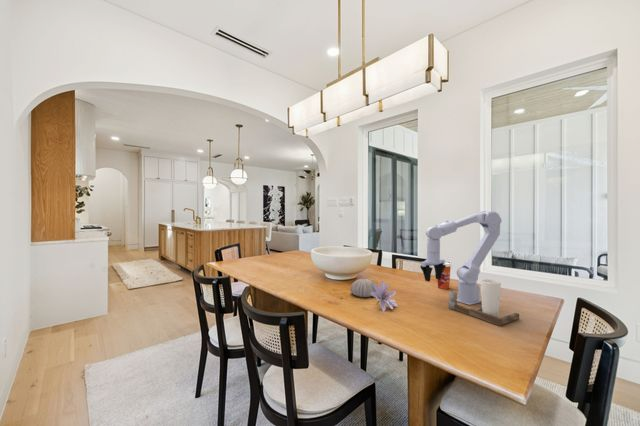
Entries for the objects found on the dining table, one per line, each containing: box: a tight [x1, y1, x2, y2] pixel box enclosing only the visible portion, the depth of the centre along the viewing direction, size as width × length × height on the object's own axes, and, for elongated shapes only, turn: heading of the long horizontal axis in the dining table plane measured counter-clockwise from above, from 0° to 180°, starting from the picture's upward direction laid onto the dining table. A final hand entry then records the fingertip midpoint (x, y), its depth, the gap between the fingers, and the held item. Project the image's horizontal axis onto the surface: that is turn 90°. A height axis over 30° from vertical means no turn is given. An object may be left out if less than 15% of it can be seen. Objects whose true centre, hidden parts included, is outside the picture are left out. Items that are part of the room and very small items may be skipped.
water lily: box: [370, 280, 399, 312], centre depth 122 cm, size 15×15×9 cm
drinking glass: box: [480, 278, 502, 318], centre depth 108 cm, size 7×7×15 cm
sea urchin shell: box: [349, 278, 377, 298], centre depth 138 cm, size 13×14×8 cm
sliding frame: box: [448, 290, 520, 327], centre depth 114 cm, size 15×22×7 cm
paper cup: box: [436, 261, 452, 290], centre depth 151 cm, size 8×8×14 cm
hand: (432, 280), depth 131 cm, fingers open, 7 cm apart
